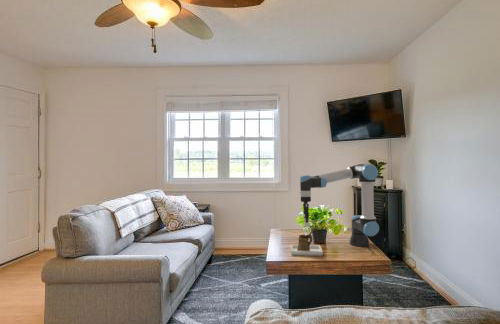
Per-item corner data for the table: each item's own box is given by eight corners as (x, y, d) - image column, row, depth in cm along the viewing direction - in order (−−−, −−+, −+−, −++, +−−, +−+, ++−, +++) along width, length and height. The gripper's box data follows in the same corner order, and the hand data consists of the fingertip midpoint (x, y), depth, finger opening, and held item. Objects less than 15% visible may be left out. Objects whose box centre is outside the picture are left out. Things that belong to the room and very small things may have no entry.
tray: (320, 249, 237) (320, 245, 237) (322, 255, 221) (322, 251, 221) (291, 248, 240) (291, 244, 240) (291, 255, 224) (291, 251, 224)
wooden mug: (315, 253, 224) (315, 228, 224) (296, 252, 228) (296, 227, 228) (316, 249, 233) (315, 225, 232) (298, 248, 236) (297, 225, 236)
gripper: (299, 194, 243) (300, 221, 243) (301, 198, 218) (302, 228, 218) (309, 194, 242) (310, 221, 242) (312, 198, 217) (312, 228, 218)
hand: (306, 224), depth 230 cm, fingers open, 13 cm apart
